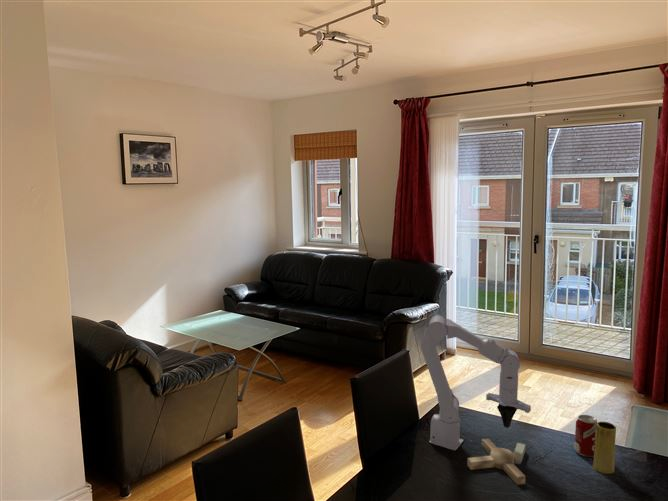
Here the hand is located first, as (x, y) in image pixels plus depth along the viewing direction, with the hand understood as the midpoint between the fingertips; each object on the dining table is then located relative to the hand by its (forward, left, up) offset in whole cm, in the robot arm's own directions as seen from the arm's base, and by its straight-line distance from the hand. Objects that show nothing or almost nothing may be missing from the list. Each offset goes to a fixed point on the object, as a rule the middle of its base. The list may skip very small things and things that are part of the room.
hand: (506, 426), depth 165 cm
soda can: (+22, +13, -9) cm, 27 cm away
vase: (+28, +6, -9) cm, 30 cm away
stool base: (-1, -12, -8) cm, 15 cm away
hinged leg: (+5, -2, -8) cm, 10 cm away
